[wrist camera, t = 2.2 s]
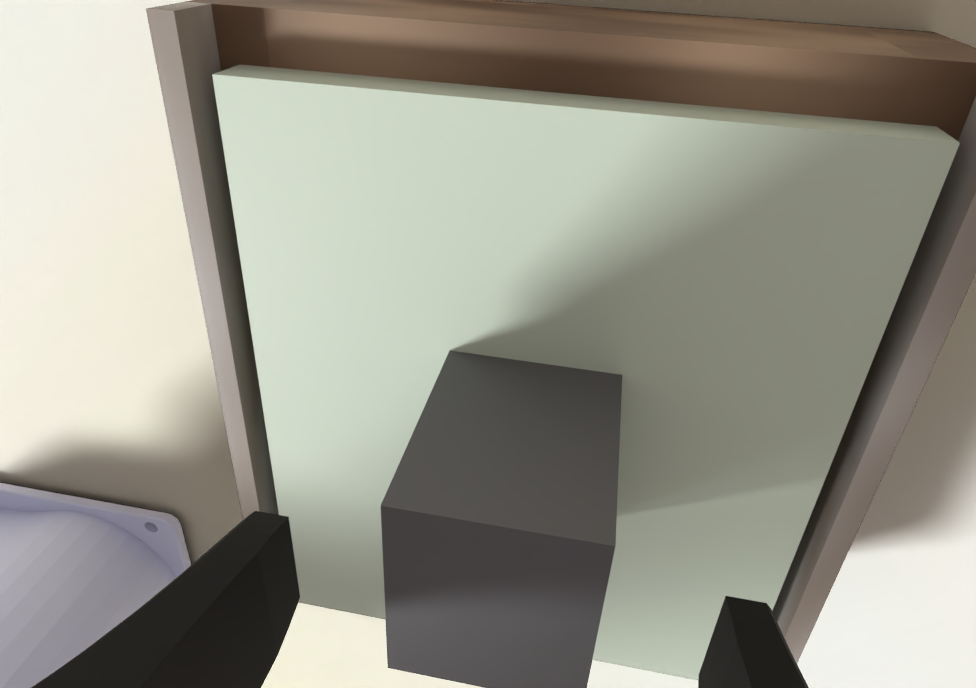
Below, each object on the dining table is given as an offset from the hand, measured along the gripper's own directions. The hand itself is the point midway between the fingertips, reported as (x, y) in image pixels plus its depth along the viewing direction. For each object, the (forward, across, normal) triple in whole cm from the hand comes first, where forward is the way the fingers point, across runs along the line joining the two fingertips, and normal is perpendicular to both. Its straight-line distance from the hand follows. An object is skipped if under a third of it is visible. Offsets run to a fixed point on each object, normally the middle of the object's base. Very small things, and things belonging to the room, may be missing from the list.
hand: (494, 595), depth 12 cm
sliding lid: (+5, 0, 0) cm, 5 cm away
